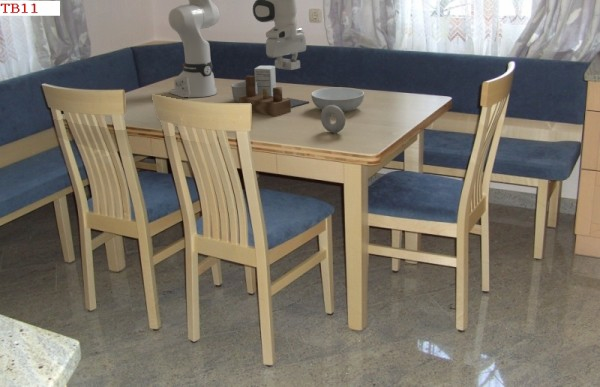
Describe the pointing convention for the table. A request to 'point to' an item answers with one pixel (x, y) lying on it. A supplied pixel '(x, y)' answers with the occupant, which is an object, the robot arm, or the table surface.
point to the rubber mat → (297, 102)
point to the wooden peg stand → (265, 99)
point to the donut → (338, 115)
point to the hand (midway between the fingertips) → (287, 65)
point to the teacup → (240, 90)
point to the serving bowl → (338, 98)
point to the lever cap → (288, 64)
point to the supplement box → (265, 79)
